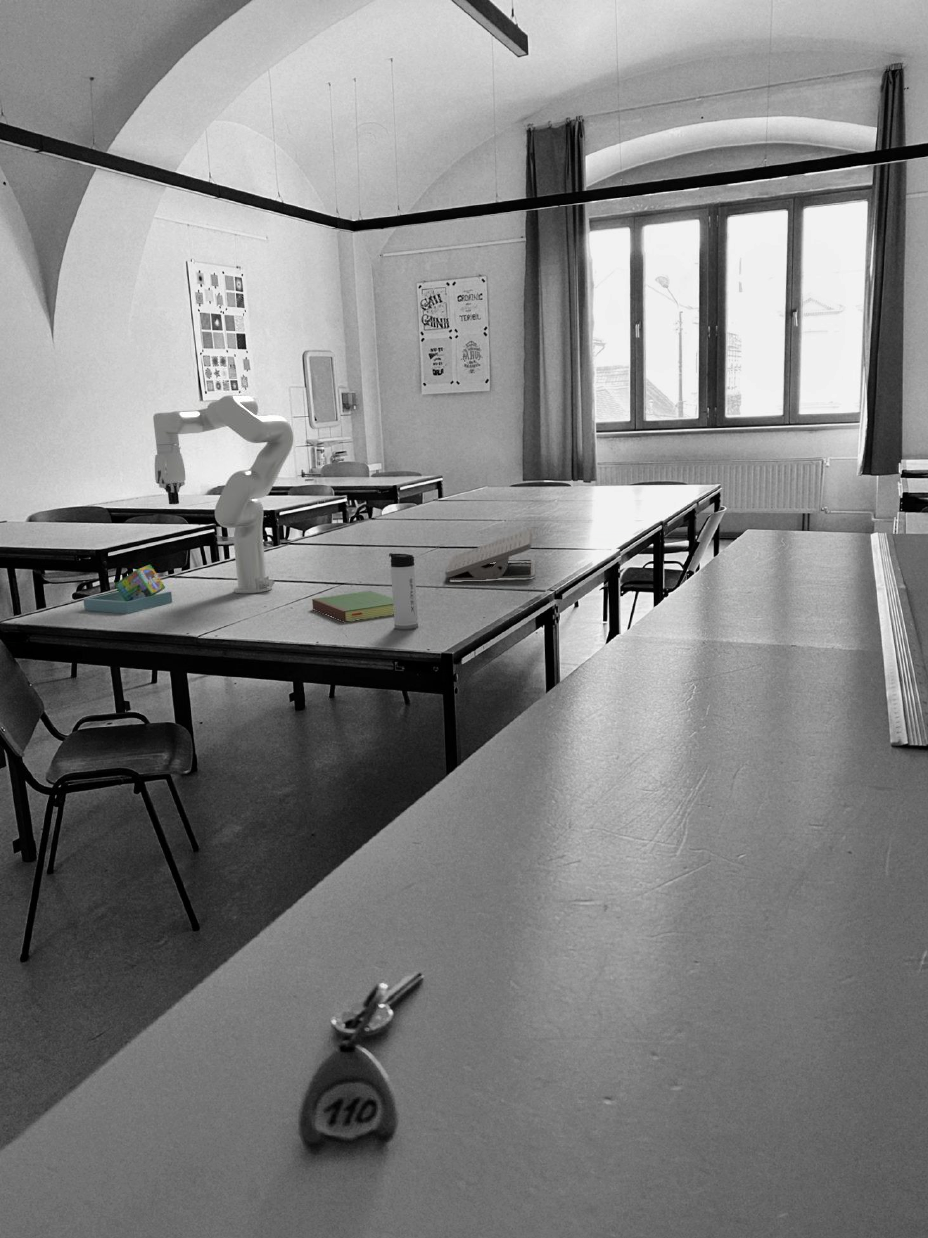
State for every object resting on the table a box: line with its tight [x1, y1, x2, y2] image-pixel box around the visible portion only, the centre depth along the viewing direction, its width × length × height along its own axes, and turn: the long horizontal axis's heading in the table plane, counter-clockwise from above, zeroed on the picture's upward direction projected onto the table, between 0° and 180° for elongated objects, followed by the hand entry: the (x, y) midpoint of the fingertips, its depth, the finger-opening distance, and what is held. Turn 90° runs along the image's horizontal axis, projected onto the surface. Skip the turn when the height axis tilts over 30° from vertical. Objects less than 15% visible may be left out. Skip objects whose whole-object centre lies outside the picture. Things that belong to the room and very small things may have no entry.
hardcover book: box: [311, 590, 394, 623], centre depth 287 cm, size 25×19×4 cm
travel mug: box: [388, 552, 419, 631], centre depth 261 cm, size 6×7×20 cm
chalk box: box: [114, 564, 166, 602], centre depth 313 cm, size 9×9×15 cm
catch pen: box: [83, 590, 173, 615], centre depth 313 cm, size 19×18×4 cm
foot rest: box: [444, 530, 536, 581], centre depth 344 cm, size 39×30×13 cm
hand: (174, 503), depth 338 cm, fingers closed
